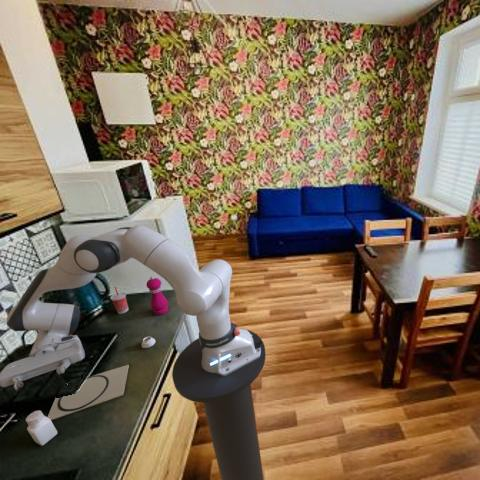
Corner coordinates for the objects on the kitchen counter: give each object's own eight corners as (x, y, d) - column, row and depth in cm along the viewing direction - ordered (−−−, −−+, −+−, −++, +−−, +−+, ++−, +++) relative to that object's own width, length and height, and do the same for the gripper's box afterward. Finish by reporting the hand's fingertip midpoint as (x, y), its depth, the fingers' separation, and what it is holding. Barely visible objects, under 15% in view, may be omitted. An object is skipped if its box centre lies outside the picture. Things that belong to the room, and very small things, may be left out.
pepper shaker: (51, 428, 80) (38, 406, 77) (59, 433, 79) (46, 411, 75) (34, 441, 77) (20, 419, 73) (42, 447, 76) (28, 425, 72)
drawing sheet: (129, 365, 102) (128, 364, 102) (123, 395, 90) (123, 393, 90) (61, 386, 93) (60, 385, 93) (45, 422, 82) (45, 421, 82)
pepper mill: (158, 317, 128) (148, 281, 120) (150, 312, 131) (139, 277, 124) (172, 309, 134) (163, 275, 126) (164, 305, 137) (155, 271, 129)
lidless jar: (153, 338, 115) (140, 344, 112) (152, 332, 114) (138, 338, 111) (157, 344, 112) (143, 350, 109) (155, 338, 111) (141, 345, 108)
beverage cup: (121, 306, 136) (113, 283, 130) (133, 307, 135) (125, 283, 130) (112, 314, 130) (103, 290, 125) (124, 314, 130) (116, 290, 124)
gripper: (1, 358, 86) (-15, 389, 76) (82, 333, 97) (78, 357, 87) (9, 372, 89) (-5, 405, 78) (88, 346, 100) (84, 371, 89)
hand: (39, 379), depth 83 cm, fingers open, 8 cm apart
